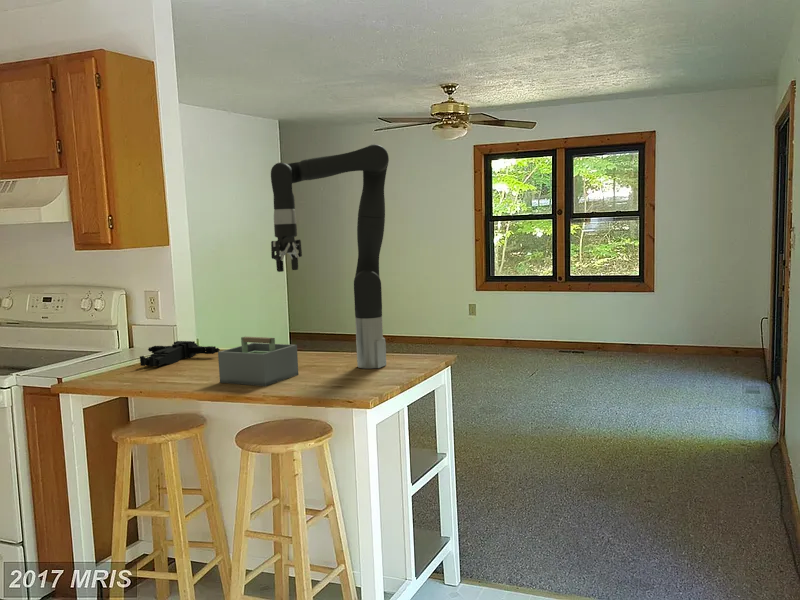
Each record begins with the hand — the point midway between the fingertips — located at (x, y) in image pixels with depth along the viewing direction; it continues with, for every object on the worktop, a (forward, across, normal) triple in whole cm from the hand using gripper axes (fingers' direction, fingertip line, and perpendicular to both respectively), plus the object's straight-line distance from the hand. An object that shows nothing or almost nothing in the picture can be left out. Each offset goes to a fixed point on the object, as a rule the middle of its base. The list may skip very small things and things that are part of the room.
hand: (287, 270), depth 244 cm
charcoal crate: (+34, -16, +2) cm, 38 cm away
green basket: (+33, -16, +2) cm, 37 cm away
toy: (+35, 0, +56) cm, 66 cm away
